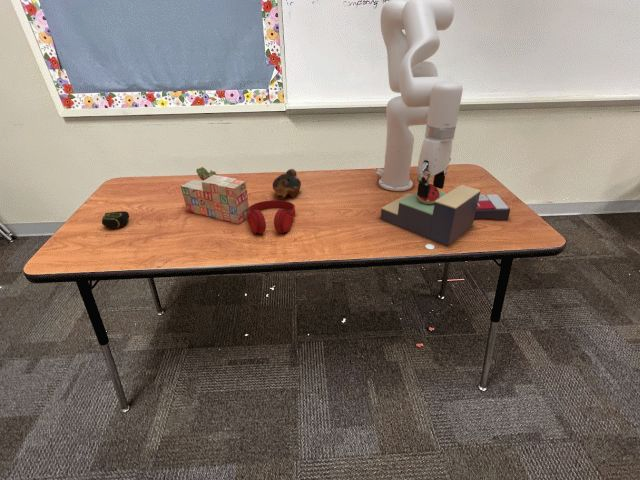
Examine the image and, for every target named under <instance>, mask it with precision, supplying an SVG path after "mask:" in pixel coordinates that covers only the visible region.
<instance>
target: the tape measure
mask: <svg viewBox="0 0 640 480" xmlns="http://www.w3.org/2000/svg"><path fill="white" fill-rule="evenodd" d="M129 219H130V214H129V212H128V211H123V210H121V211H112V212H105V213H104V214H103V216H102V219H101V224H102V225H103V226H104V227H105V228H106V229H117V228H118V229H119V228H121V227H124V226H125V225H127V224H128V222H129Z"/></svg>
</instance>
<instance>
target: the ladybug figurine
mask: <svg viewBox="0 0 640 480" xmlns="http://www.w3.org/2000/svg"><path fill="white" fill-rule="evenodd" d="M428 185H430V187H429V193H428V197H427V198H423V197H420V196H418V195H417V198H418V200H419V201H421V202H422V203H425V204H434V203H435V201H436V200H437V199H439V198H440V194H439V191H440V190H438V189H439V188H437V187H435V186H434V185H433V183H429V184H428Z"/></svg>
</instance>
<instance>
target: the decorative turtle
mask: <svg viewBox="0 0 640 480" xmlns="http://www.w3.org/2000/svg"><path fill="white" fill-rule="evenodd" d="M301 186H302V182H301V180H300V179H299V177H297V171H296V170H295V169H294V168H290V169H288V170H287V171H286V172H285V173H283V174H280V175H278V176H277V177H276V178H275V179H274V180H273V182H272V189H273V190H274V191H275V196H276V198H277V199H278V200H284V199H285V198H286V197H287V196H289V197H290V198H292V199H294V198H295V197H296V196H297V194H298V193H299V192H300V189H301Z"/></svg>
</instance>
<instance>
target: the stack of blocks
mask: <svg viewBox="0 0 640 480" xmlns="http://www.w3.org/2000/svg"><path fill="white" fill-rule="evenodd" d="M217 175H218V174H217ZM217 175H212V176H211V177H209V178H207V179H206V180H204V181H203V180H201V179H200V180H199V179H191V180H189V181H187V182H185V183H184V184H182V185H180V189H181V194H182V196H183V200H184V205H185V208H186V211H187V212H190V213H194V214H198V215H201V216H205V217H211V218H214V219H218V220H222V221H225V222H229V223H233V224H237V225H240V224H241V223H242V222H244V221H245V220H246V218H247V211H248V208H249V207H250V206H249V205H250V204H249V197H248V196H249V195H248V190H247V181H246V180H243V179H238V178H236V177H235V178H234V177H229V176H223V175H222V176H221V175H218V176H217Z"/></svg>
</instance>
